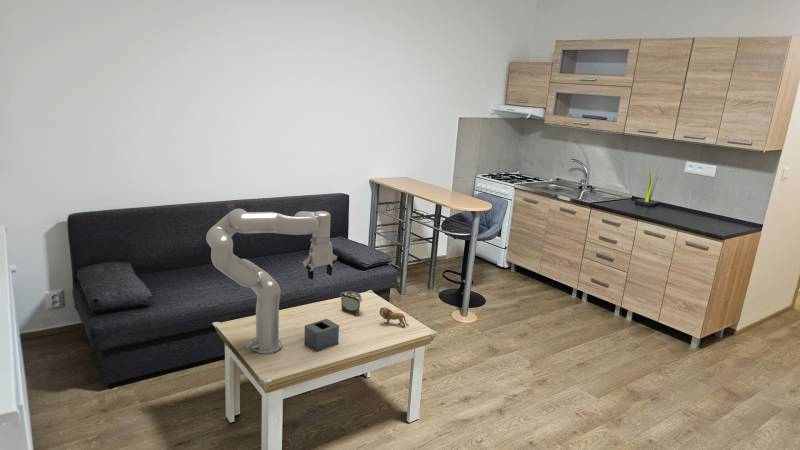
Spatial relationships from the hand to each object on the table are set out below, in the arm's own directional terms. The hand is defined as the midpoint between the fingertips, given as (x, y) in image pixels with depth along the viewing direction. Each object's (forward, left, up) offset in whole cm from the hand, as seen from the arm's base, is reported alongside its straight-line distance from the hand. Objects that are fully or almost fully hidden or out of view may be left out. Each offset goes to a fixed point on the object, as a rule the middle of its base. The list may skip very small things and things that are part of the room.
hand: (320, 276), depth 233 cm
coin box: (-3, -6, -29) cm, 30 cm away
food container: (+30, +12, -30) cm, 44 cm away
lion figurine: (+36, -12, -30) cm, 48 cm away
